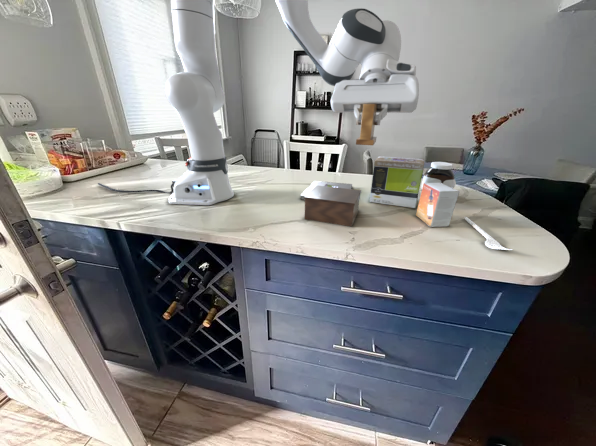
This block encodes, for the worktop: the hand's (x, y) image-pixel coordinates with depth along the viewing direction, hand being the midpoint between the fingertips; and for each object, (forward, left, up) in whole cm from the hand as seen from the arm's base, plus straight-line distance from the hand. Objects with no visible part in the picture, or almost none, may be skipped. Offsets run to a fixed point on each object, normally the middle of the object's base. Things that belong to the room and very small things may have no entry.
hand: (367, 123), depth 57 cm
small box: (+23, +1, -27) cm, 35 cm away
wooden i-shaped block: (0, +1, -5) cm, 5 cm away
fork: (+31, -9, -27) cm, 42 cm away
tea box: (+19, +18, -27) cm, 37 cm away
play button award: (-2, +29, -27) cm, 39 cm away
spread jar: (+40, +25, -27) cm, 54 cm away
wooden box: (-5, +8, -27) cm, 28 cm away
